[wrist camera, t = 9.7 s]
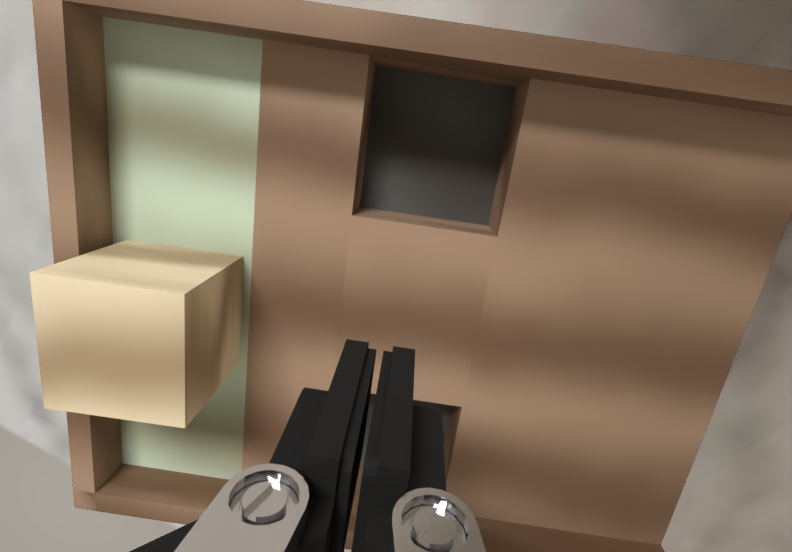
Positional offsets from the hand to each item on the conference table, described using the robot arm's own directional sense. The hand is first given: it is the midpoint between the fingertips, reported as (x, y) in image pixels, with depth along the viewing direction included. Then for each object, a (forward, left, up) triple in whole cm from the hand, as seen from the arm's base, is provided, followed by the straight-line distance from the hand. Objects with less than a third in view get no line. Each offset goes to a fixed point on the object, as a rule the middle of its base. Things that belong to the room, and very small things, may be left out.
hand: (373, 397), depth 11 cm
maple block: (+2, -9, -9) cm, 13 cm away
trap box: (+1, +1, -12) cm, 12 cm away
